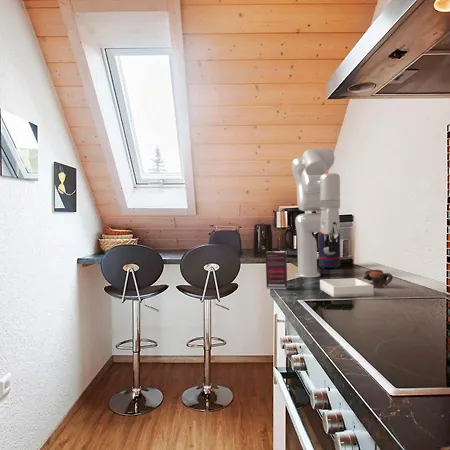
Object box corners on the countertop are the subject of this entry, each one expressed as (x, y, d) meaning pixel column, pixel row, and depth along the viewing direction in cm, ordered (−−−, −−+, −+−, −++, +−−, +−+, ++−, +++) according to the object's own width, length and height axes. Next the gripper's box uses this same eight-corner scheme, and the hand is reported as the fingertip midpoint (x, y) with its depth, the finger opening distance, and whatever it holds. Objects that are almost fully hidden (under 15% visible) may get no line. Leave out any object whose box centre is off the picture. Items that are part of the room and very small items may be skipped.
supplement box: (287, 287, 162) (286, 250, 161) (286, 289, 157) (285, 252, 157) (267, 286, 164) (267, 250, 164) (265, 289, 160) (265, 252, 159)
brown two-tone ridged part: (361, 288, 159) (359, 270, 163) (369, 295, 165) (367, 277, 169) (391, 284, 152) (388, 265, 156) (398, 290, 158) (395, 272, 162)
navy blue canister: (319, 266, 223) (318, 215, 222) (339, 266, 220) (339, 215, 219) (318, 269, 210) (318, 216, 209) (341, 270, 207) (340, 215, 206)
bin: (320, 289, 157) (319, 279, 157) (356, 287, 158) (355, 278, 158) (333, 297, 141) (333, 286, 141) (373, 295, 143) (373, 285, 142)
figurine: (320, 252, 150) (322, 238, 149) (328, 252, 152) (330, 238, 151) (330, 256, 145) (332, 241, 144) (338, 255, 147) (340, 240, 147)
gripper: (314, 205, 156) (315, 249, 157) (327, 205, 139) (328, 254, 140) (332, 205, 156) (332, 248, 157) (347, 204, 139) (347, 253, 140)
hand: (330, 250), depth 148 cm, fingers closed on figurine, 4 cm apart
